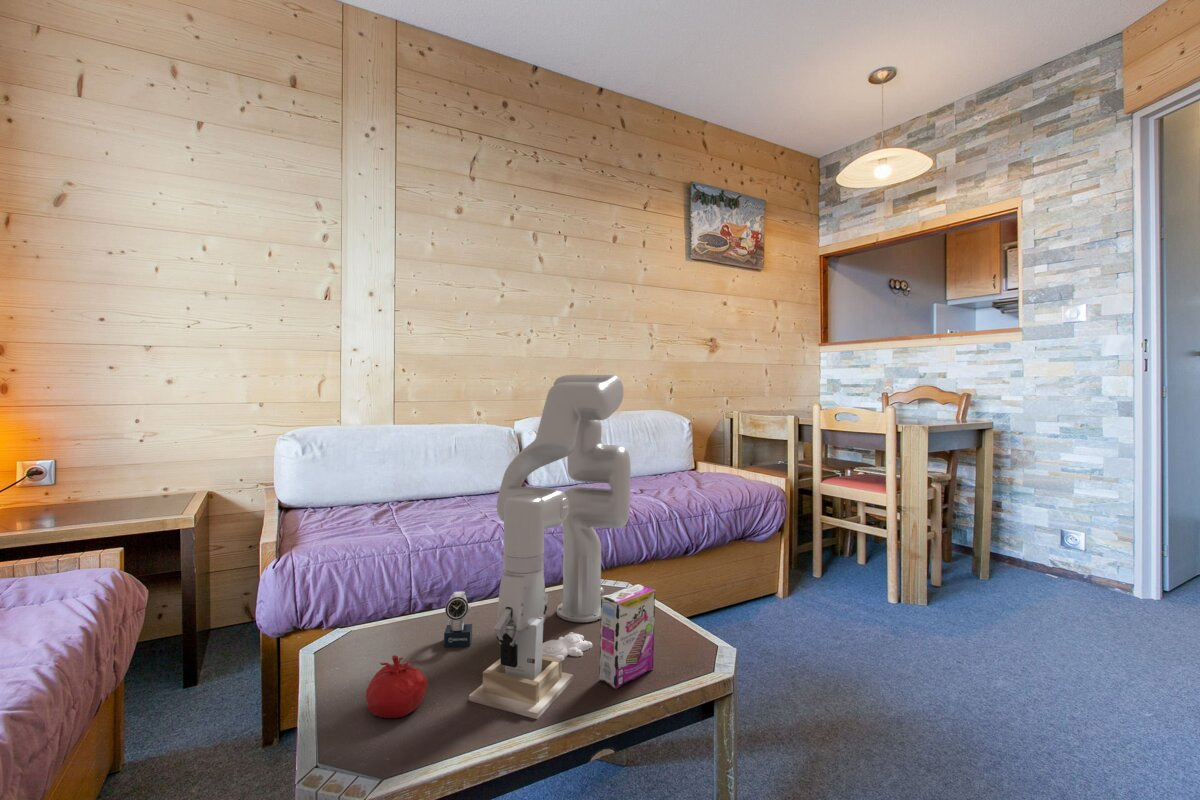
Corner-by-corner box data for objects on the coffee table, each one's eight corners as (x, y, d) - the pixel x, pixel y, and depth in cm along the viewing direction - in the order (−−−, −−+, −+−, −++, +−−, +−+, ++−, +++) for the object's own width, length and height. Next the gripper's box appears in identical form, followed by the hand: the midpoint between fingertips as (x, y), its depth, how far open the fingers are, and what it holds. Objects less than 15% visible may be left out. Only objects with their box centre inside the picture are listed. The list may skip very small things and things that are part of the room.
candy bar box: (617, 690, 103) (617, 603, 102) (598, 680, 106) (599, 596, 106) (655, 670, 110) (656, 588, 110) (636, 661, 114) (637, 582, 114)
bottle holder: (510, 665, 112) (511, 643, 112) (573, 679, 106) (573, 656, 106) (469, 700, 99) (469, 675, 99) (537, 719, 93) (537, 693, 93)
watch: (442, 651, 117) (442, 600, 117) (448, 635, 125) (448, 587, 125) (469, 650, 118) (469, 599, 118) (473, 634, 126) (473, 586, 126)
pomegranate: (404, 731, 90) (405, 675, 90) (353, 720, 93) (353, 666, 93) (438, 697, 100) (438, 647, 99) (390, 688, 102) (390, 639, 102)
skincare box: (503, 687, 101) (504, 622, 101) (513, 675, 106) (513, 612, 106) (535, 692, 100) (535, 625, 100) (543, 679, 104) (544, 616, 104)
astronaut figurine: (598, 654, 118) (598, 640, 118) (545, 666, 112) (545, 652, 112) (580, 637, 125) (581, 624, 125) (531, 648, 120) (531, 634, 120)
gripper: (529, 547, 112) (529, 631, 112) (479, 573, 96) (478, 671, 96) (562, 552, 109) (562, 638, 109) (516, 579, 93) (516, 680, 93)
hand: (523, 653), depth 102 cm, fingers open, 9 cm apart
